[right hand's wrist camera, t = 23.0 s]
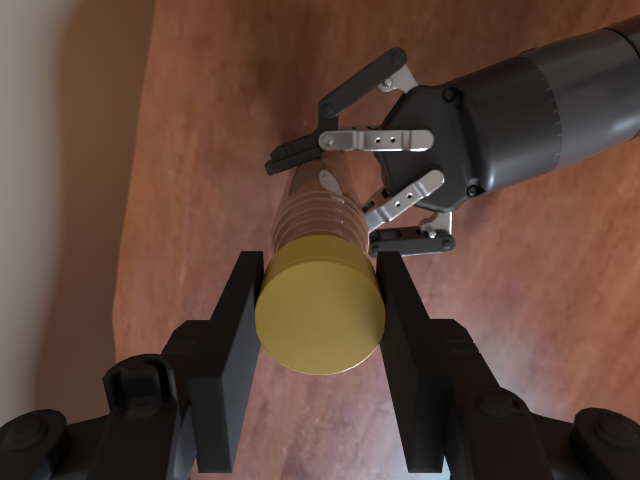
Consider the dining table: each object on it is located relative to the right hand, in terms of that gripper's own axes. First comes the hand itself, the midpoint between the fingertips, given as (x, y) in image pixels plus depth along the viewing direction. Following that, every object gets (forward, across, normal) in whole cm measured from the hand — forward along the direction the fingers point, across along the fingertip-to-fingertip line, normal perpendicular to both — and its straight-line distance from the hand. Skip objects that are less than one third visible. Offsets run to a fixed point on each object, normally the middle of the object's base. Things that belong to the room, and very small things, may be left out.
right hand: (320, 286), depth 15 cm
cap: (-2, 0, 0) cm, 2 cm away
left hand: (+14, -2, -1) cm, 14 cm away
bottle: (+20, 0, 0) cm, 20 cm away
